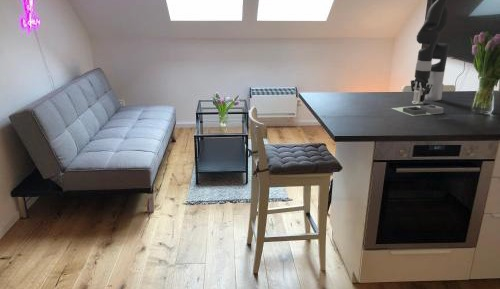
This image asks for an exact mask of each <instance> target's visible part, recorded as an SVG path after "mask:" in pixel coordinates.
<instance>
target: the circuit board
mask: <svg viewBox="0 0 500 289" xmlns="http://www.w3.org/2000/svg"><path fill="white" fill-rule="evenodd" d="M406 107H407V106H402V107H401V106H400V107H391V108H390V109H392V110H395V111H398V112H400V113H403V114H405V115H409V116H412V117H415V116H416V117H417V116H427V115H434V114H435V115H436V114H443V113H444V107H442V106H439V105H434V104H425V105H424V104H421V105H414V106H412V105H411V106H410V107H419V108H422V109H425V110H426V114H417V115H412V114H409V113H406V112H403V108H406Z"/></svg>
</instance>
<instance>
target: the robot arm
mask: <svg viewBox="0 0 500 289" xmlns="http://www.w3.org/2000/svg"><path fill="white" fill-rule="evenodd" d="M430 3H431V4H430V7H429V8H428V10H427V13H426V16H425V21H424V23H423V24H422V26H421V27H420V29H419V31H418V32H417V35H416V41H417V43H418V44H420V45H422V44H423V45H427V46H428V47H426V48H425V47H424V48H420V49H419V50H418V53H417V61H416V65H415V72H414V80H413V79H412V80H410V87H411V92H413V93H414V91H415V90H420V91H421V96H420V102H422V103H425V101H424V99H425V95H427V94H428V97H427V100H426V99H425V100H426V101H432V102H433V101H434V102H436V101H437V102H438V101H441V100H442V95H443V90H444V85H445V84H444V83H443V82H444V76H445V71H446V66H447V59H448V54H449V50H450V45H449V44H448V43H445V42H439V39H440V34H441V33H442V32H443V31H444V30H445V28H446V27H447V25H448V23H449V16H450V12H449V8H448V7H447V5H446V4H447V3H448V0H431V2H430ZM433 60H439V62H437V63H433V64H432V62H433ZM423 88H424V89H423ZM423 91H424V93H423Z"/></svg>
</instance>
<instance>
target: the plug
mask: <svg viewBox="0 0 500 289" xmlns="http://www.w3.org/2000/svg"><path fill="white" fill-rule="evenodd" d="M423 93H424V91H423ZM420 96H421V91H420V90H415V91H414V92H413V100H412V101H415V102H414V103H416V102H417V103H419V102H420ZM425 100H426V99H424V102H425Z"/></svg>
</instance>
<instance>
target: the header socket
mask: <svg viewBox="0 0 500 289" xmlns="http://www.w3.org/2000/svg"><path fill="white" fill-rule="evenodd" d="M405 107H406V108H403V112H406V113H409V114H412V115H417V114H426V110H425V109H422V108H419V107H411V106H405ZM403 112H402V113H403ZM406 113H405V114H406ZM409 114H408V115H409Z"/></svg>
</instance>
